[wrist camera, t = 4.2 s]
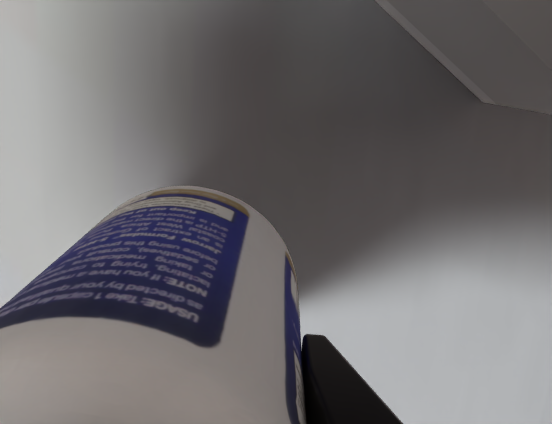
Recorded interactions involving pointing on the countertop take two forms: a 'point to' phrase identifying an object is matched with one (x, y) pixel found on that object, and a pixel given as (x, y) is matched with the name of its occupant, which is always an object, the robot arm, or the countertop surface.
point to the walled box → (487, 45)
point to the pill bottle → (159, 321)
